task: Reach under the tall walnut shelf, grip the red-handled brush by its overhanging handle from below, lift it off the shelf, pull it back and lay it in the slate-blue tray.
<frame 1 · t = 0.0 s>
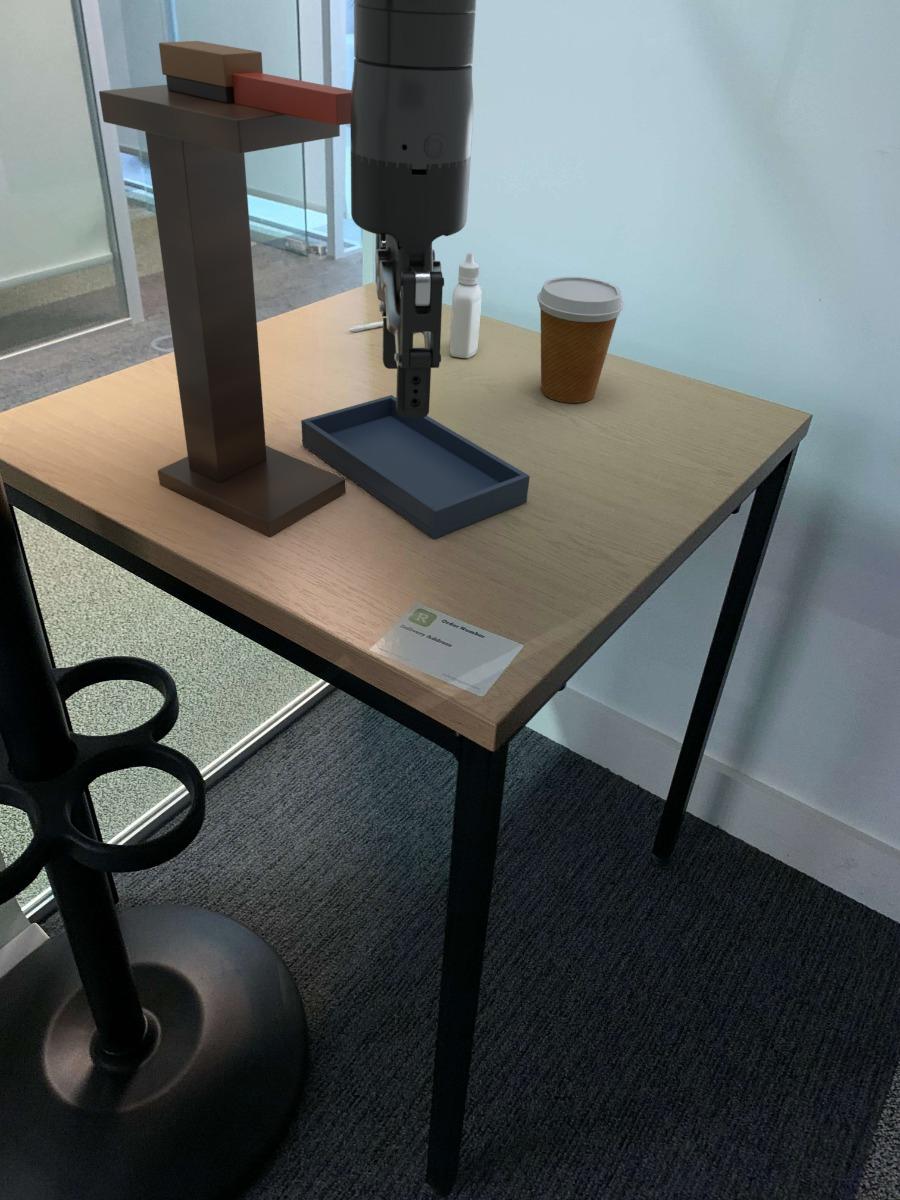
hand: (404, 390, 66), 15 cm above the table, tool pointing down, fingers open, 8 cm apart
disposable coffee cup: (567, 393, 106), on the table
picture light: (400, 330, 119), on the table
tray: (410, 472, 88), on the table
eye dropper bottle: (463, 352, 114), on the table
shelf stand: (253, 488, 84), on the table
brush: (260, 105, 63), point 32 cm above the table, touching shelf stand
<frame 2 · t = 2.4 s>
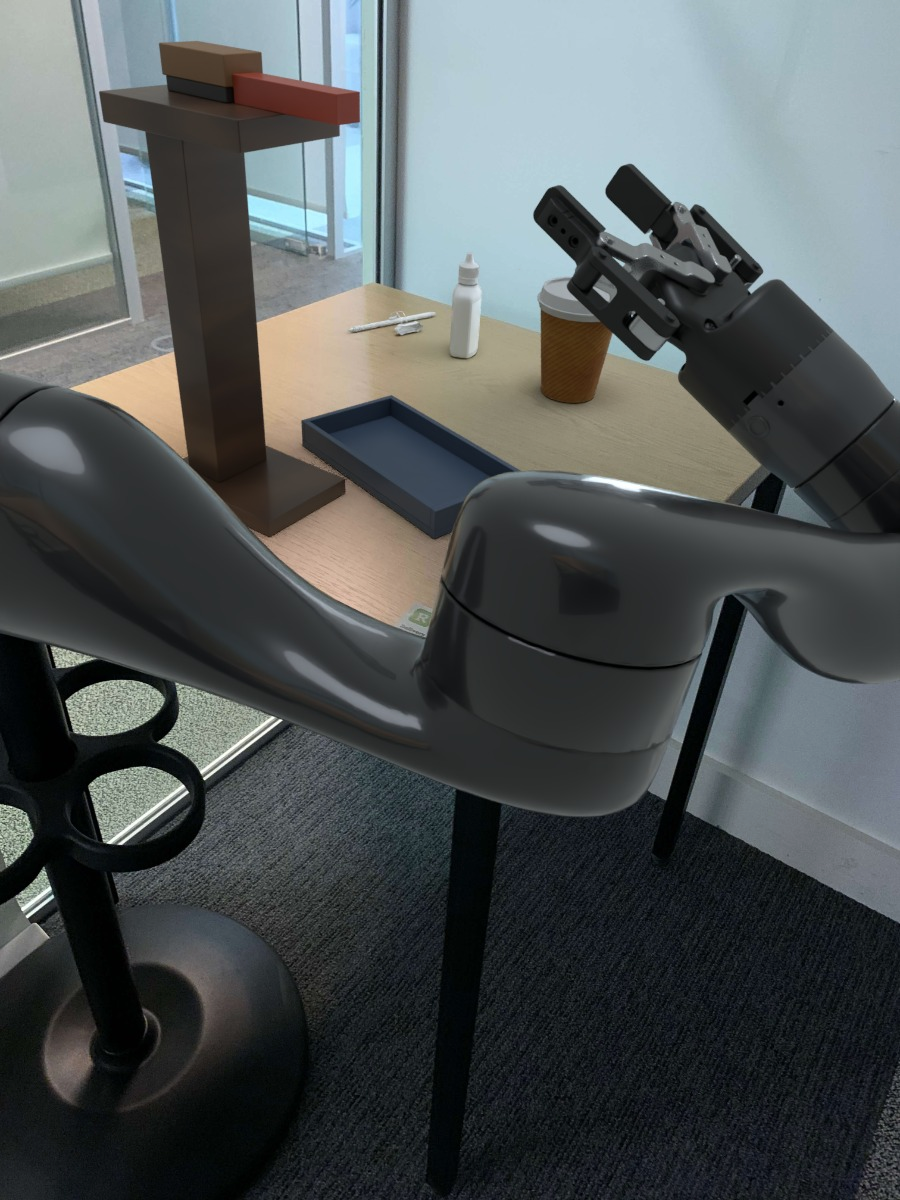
hand: (581, 187, 52), 31 cm above the table, tool pointing upward, fingers open, 8 cm apart
nothing on the table moved.
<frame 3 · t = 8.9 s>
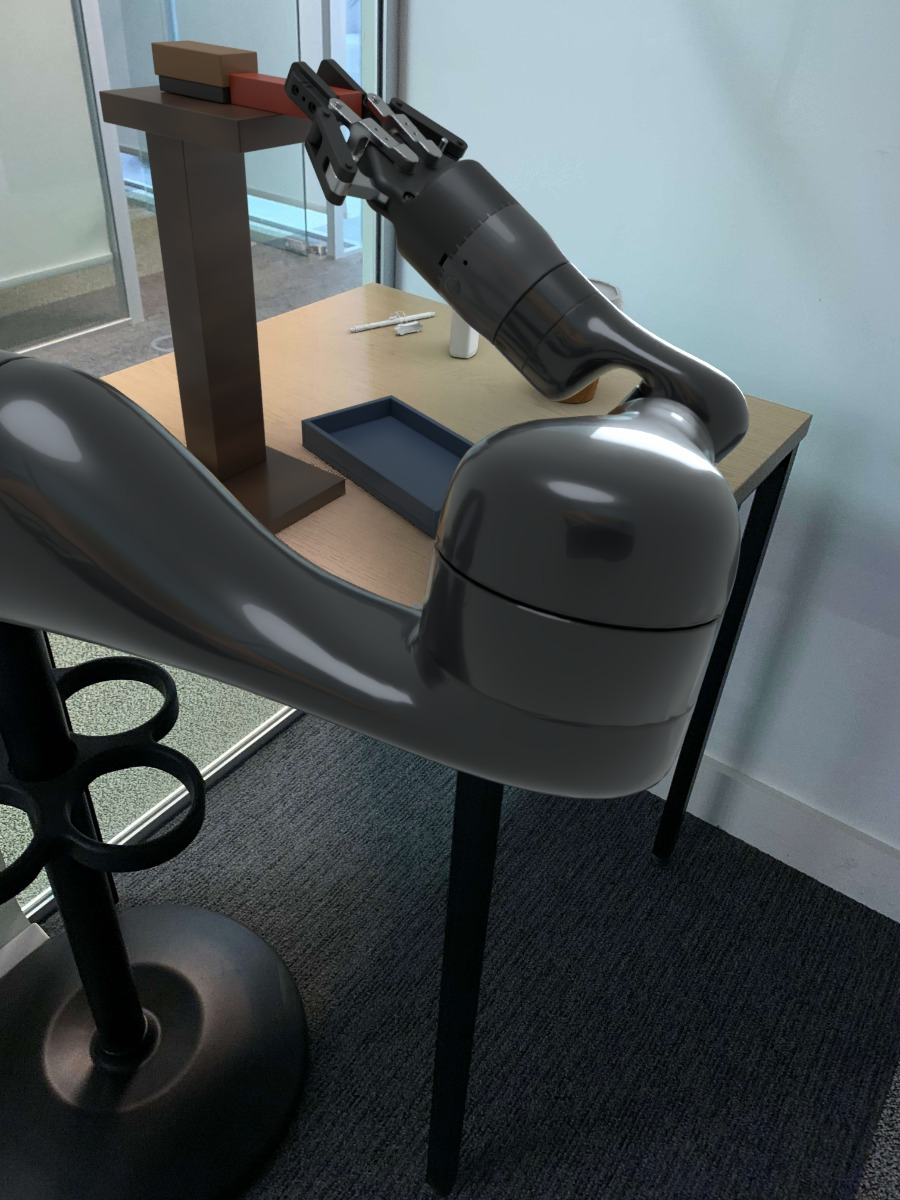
hand: (306, 73, 60), 34 cm above the table, tool pointing upward, fingers closed on brush, 2 cm apart
brush: (257, 105, 63), point 32 cm above the table, touching gripper, shelf stand
everything else where it was.
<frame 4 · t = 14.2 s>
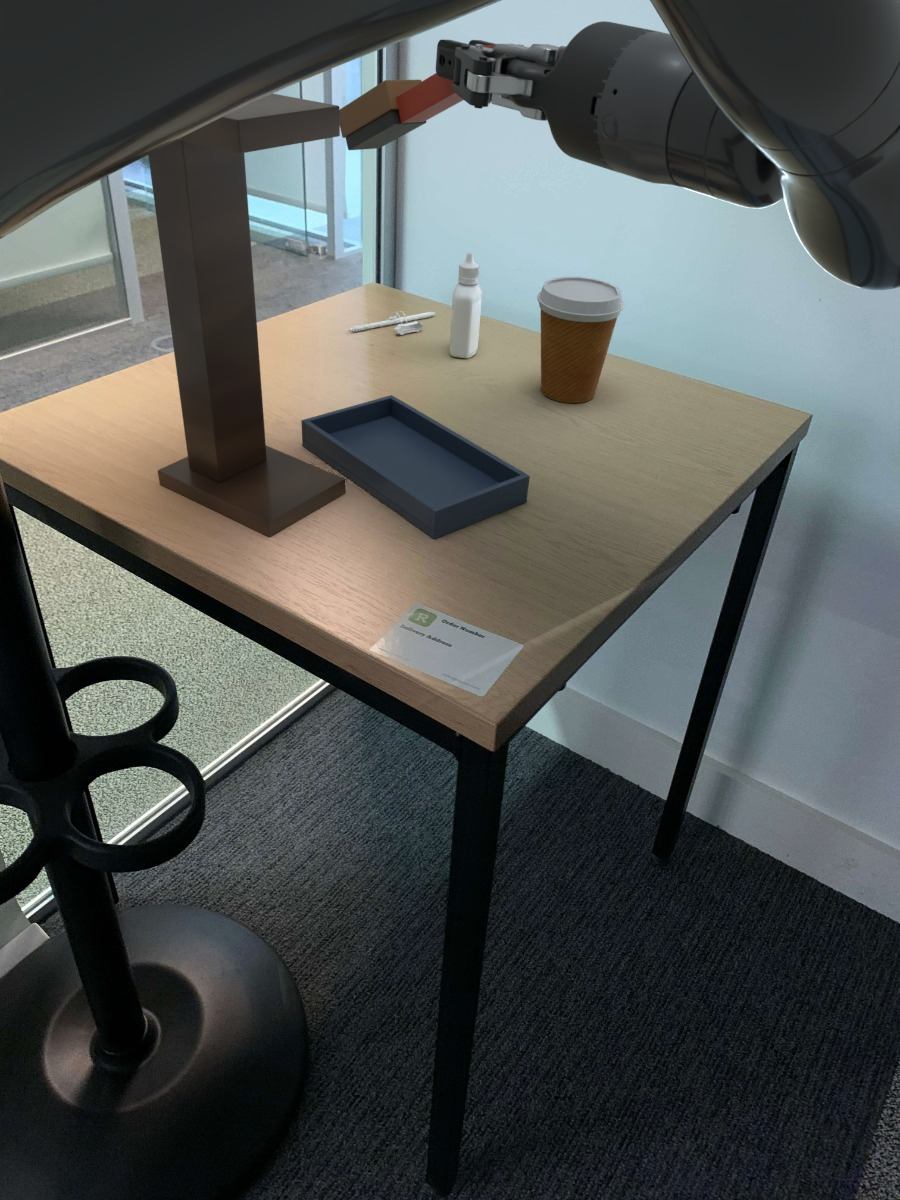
hand: (455, 57, 63), 35 cm above the table, tool horizontal, fingers closed on brush, 2 cm apart
brush: (424, 116, 67), point 31 cm above the table, tilted 25°, touching gripper
everything else where it was.
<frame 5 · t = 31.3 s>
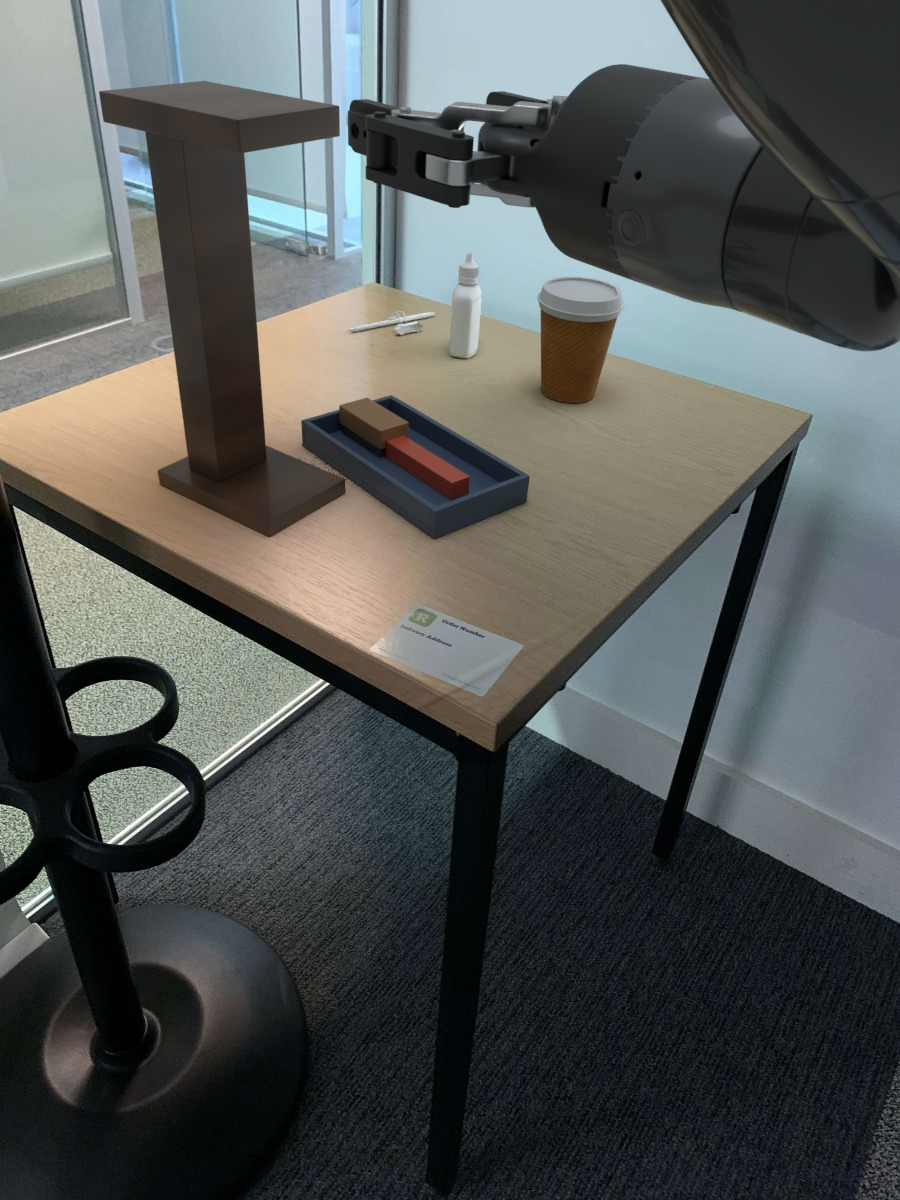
hand: (425, 118, 45), 35 cm above the table, tool horizontal, fingers open, 8 cm apart
brush: (403, 460, 88), point 1 cm above the table, touching tray
everything else where it was.
at the end: brush inside the target area in the tray (1.2 cm from its centre), point 0.8 cm above the tray's base; the gripper is holding nothing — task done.
